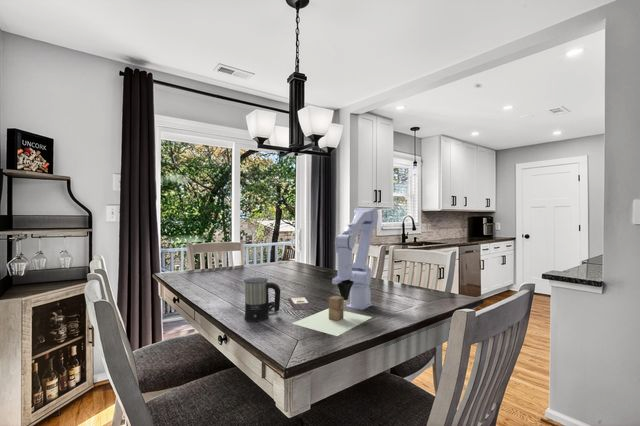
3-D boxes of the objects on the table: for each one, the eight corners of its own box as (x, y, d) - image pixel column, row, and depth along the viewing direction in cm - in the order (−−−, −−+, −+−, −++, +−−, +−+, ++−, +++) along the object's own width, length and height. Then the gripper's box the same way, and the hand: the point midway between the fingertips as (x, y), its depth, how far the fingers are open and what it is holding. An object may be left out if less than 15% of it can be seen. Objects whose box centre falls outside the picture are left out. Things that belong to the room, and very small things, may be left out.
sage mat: (329, 308, 137) (329, 307, 137) (372, 318, 125) (372, 317, 125) (291, 324, 118) (291, 323, 118) (337, 337, 106) (337, 336, 106)
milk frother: (245, 323, 120) (245, 282, 120) (240, 311, 134) (240, 275, 134) (283, 318, 125) (283, 280, 125) (274, 307, 140) (274, 272, 139)
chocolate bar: (295, 309, 134) (288, 298, 152) (295, 312, 134) (288, 300, 152) (316, 308, 137) (307, 297, 154) (316, 310, 137) (307, 299, 154)
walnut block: (334, 316, 126) (334, 295, 126) (343, 318, 124) (343, 297, 124) (328, 319, 123) (328, 297, 123) (337, 321, 121) (337, 299, 121)
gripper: (343, 268, 120) (343, 305, 120) (362, 263, 131) (362, 297, 131) (327, 266, 124) (327, 302, 124) (348, 261, 136) (348, 294, 136)
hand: (344, 299), depth 128 cm, fingers closed
